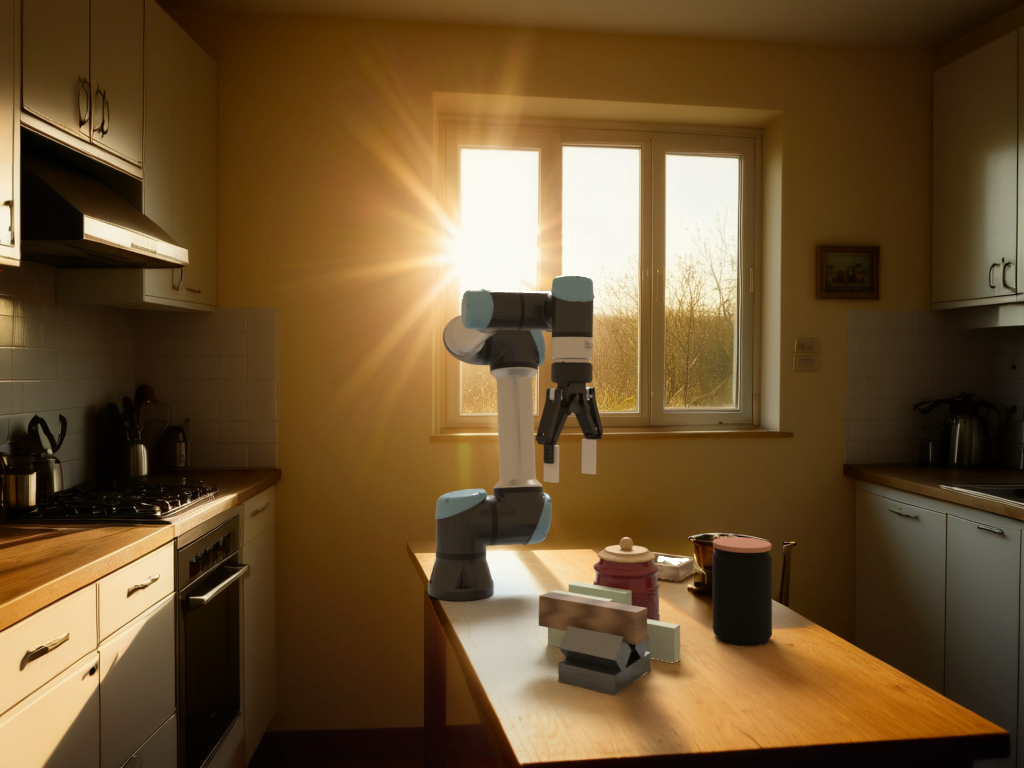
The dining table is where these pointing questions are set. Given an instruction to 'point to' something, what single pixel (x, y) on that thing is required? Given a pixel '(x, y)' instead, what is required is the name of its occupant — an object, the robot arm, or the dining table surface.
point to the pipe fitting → (671, 561)
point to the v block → (601, 660)
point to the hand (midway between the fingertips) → (570, 477)
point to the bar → (593, 616)
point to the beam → (660, 633)
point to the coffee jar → (742, 591)
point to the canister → (630, 574)
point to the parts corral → (674, 567)
